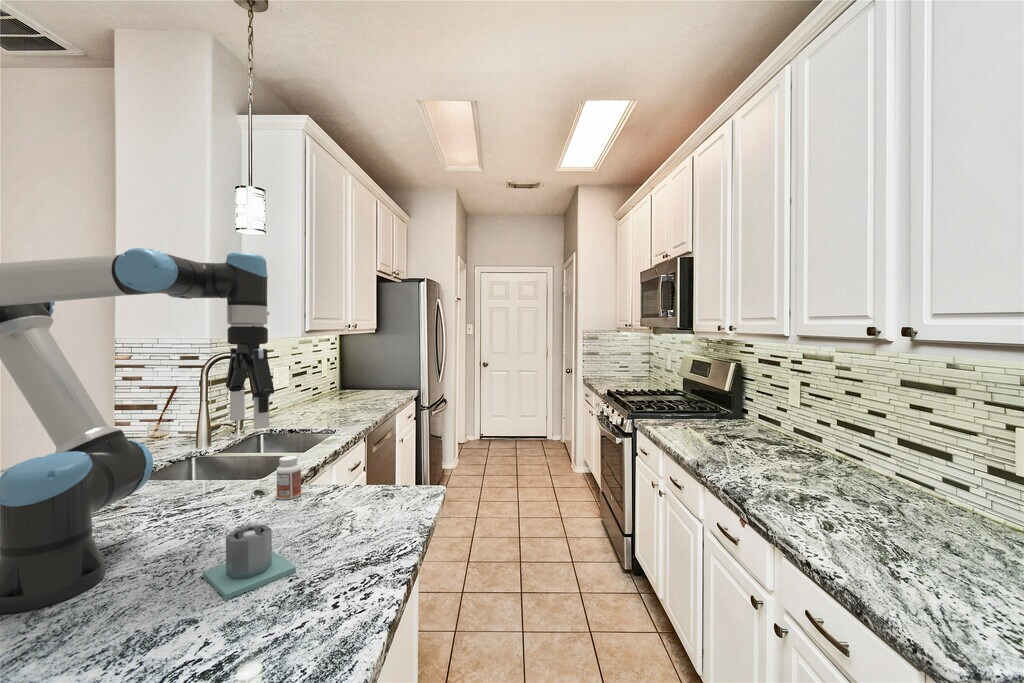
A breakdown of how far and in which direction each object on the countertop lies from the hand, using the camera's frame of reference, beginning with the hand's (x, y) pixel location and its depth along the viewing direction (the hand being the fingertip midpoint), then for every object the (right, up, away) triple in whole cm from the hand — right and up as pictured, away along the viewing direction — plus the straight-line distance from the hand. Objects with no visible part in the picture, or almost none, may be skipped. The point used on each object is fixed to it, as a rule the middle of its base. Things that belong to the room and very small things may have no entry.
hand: (249, 424), depth 98 cm
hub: (+7, -26, -11) cm, 29 cm away
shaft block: (+7, -27, -11) cm, 30 cm away
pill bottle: (-6, -26, +30) cm, 41 cm away
